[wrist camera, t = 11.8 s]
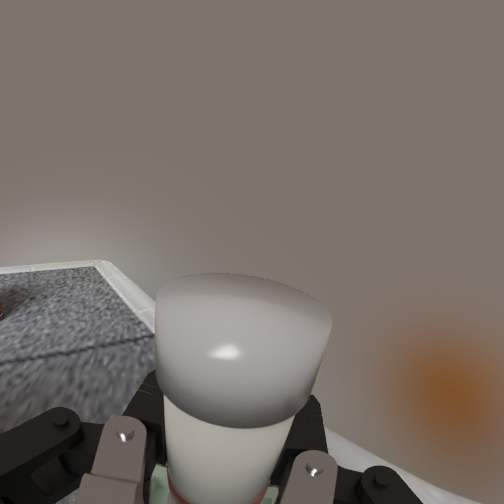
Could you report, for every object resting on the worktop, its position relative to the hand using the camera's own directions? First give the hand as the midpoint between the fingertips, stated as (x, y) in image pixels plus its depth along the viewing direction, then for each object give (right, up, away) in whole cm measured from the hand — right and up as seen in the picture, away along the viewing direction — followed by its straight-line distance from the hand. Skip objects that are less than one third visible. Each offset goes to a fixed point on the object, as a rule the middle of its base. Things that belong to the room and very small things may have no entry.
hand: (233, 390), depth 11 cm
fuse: (-1, -7, -1) cm, 8 cm away
